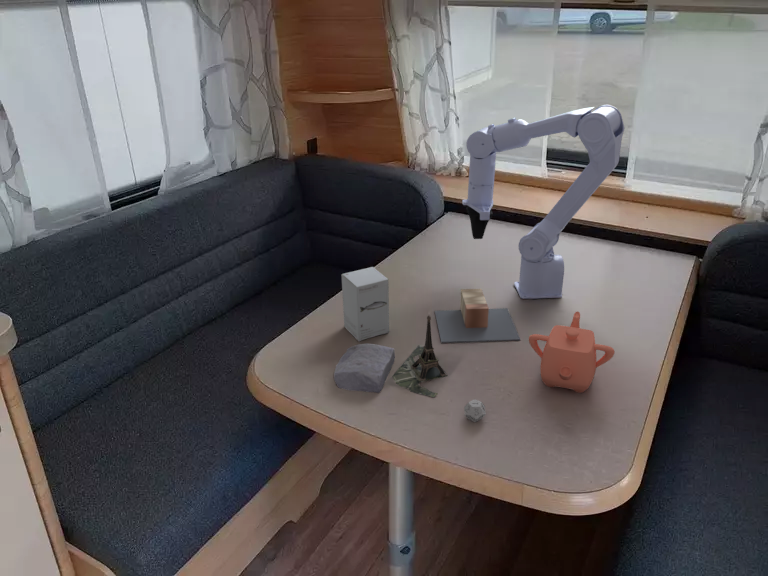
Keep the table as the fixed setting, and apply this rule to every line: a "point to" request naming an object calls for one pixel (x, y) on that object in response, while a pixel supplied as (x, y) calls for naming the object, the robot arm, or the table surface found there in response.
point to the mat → (456, 330)
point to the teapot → (569, 356)
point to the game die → (474, 410)
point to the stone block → (364, 367)
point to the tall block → (474, 308)
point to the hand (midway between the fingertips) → (477, 237)
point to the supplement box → (365, 303)
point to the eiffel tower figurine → (420, 367)
